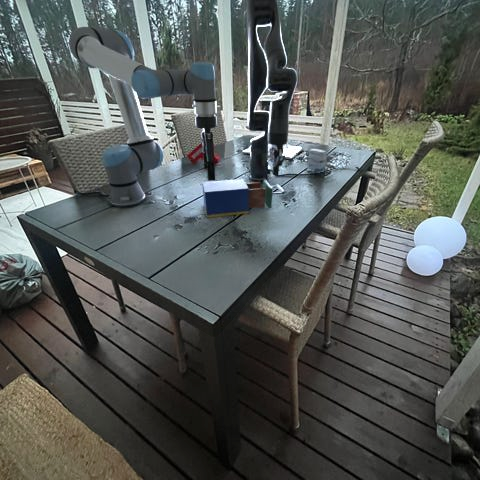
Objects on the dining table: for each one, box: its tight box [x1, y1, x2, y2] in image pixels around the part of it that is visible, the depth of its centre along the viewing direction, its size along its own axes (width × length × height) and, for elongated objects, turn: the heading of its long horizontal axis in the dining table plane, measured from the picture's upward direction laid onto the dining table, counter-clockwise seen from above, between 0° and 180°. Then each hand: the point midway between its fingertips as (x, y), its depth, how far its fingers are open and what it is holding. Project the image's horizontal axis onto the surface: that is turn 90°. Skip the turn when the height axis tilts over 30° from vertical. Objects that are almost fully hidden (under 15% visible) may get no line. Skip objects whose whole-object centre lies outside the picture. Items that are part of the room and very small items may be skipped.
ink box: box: [306, 148, 328, 173], centre depth 153 cm, size 8×5×12 cm, turn 47°
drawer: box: [245, 179, 286, 209], centre depth 115 cm, size 22×10×9 cm, turn 102°
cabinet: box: [201, 178, 250, 218], centre depth 113 cm, size 17×11×11 cm, turn 102°
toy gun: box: [186, 142, 221, 165], centre depth 168 cm, size 18×4×15 cm
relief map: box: [242, 141, 304, 160], centre depth 192 cm, size 27×35×5 cm
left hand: (209, 174), depth 106 cm, fingers open, 13 cm apart
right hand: (275, 174), depth 112 cm, fingers closed
